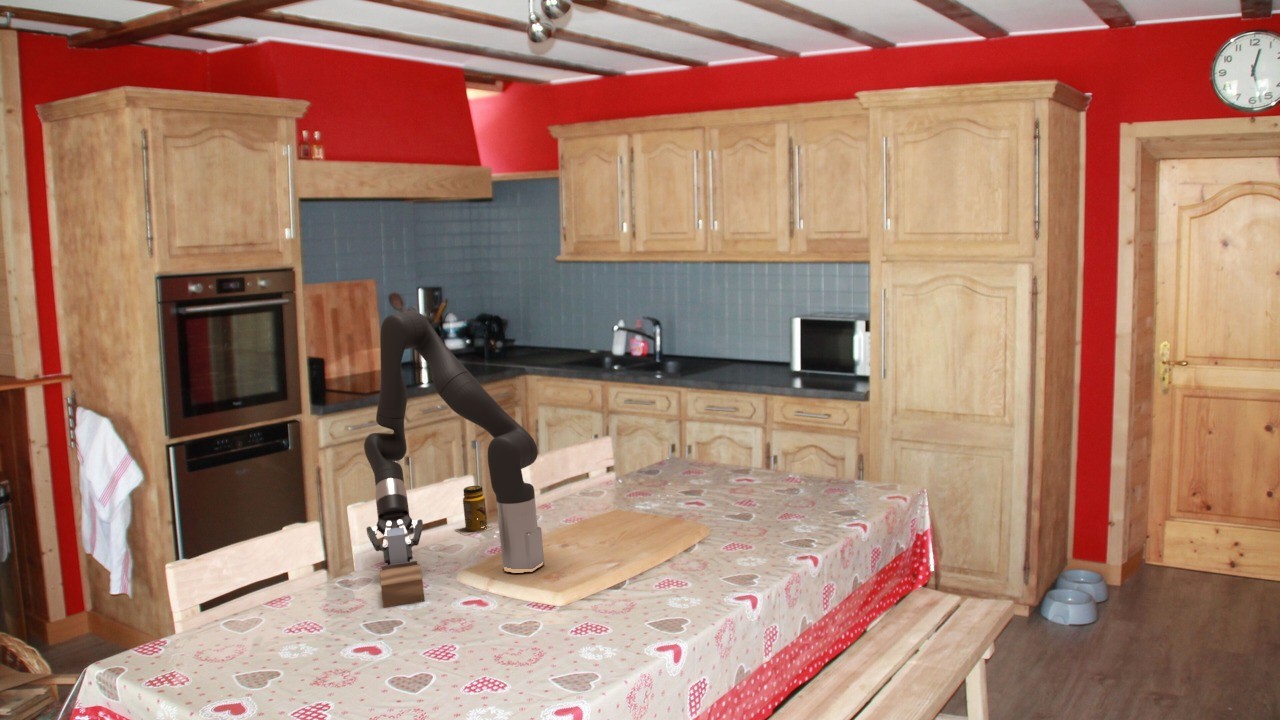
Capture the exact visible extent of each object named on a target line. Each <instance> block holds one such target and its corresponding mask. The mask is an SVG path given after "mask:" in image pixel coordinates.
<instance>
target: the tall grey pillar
mask: <svg viewBox="0 0 1280 720" xmlns="http://www.w3.org/2000/svg"><path fill="white" fill-rule="evenodd" d="M387 538H388V547H389V556H390V565H391V564H398V563H405V562H408V560H407V551H406V542H405V533H404V528H392V529H391V530H387Z"/></svg>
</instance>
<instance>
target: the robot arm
mask: <svg viewBox="0 0 1280 720" xmlns="http://www.w3.org/2000/svg"><path fill="white" fill-rule="evenodd" d="M379 335H380V339H379V340H380V341H379V342H380V343H379V344H380V348H379V349H380V350H379V351H380V385H379V386H380V388H379V396H378V401H377V402H378V403H377V409H376V410H377V411H376V415H375V416H376V417H375V422H376V423H377V424H378V425H379V426H380V427H383V428H385V429H390V430H392V431H393V433H385V432H384V433H383V432H382V433H381V432H372V433H370V434H368V435H367V437H366V438H365V439H364V442H363V443H364V444H363V449H364V454H365V457H366V458H367V461H368V464H369V465H370V467H371V470H372V473H373V475H374V482H375V485H374V486H375V503H376V512H377V522H376V525H374V526H372V527H371V526H367V527H366V535H367V537H368V539H369V540H370V543H371V544H372V546H373V548H374V550H375V551H376V552H379V551H380V552H382V553H383V554H382V555H383V561H384V563H385V564H387V565H390V556H389V547H388V538H387V530H391V529H392V528H404V533H405V542H406V551H407V560H408V562H411V560H413V558H414V557H413V549H412V548H413V547H417V546H418V545H419V543H420V539H421V536H422V532H423V526H424V524H423V520H422V519H420V518H419V519H418V520H413V519H412V518H411V515H410V510H409V503H408V494H407V489H406V485H405V479H404V471H403V467H402V465H401V464H399V463H398V461H401V460H403V459H404V457H405V456H406V454H407V439H406V433H405V415H406V411H407V403H408V391H407V390H408V389H407V386H406V382H405V380H404V377H403V373H402V363H403V362H402V361H403V358H404V357H403V356H404V353H405V350H410V349H413V350H415V351H416V352H417V353H418V354H419V355H420V356H421V357H422V358H423V360H424V361H425V362H426V363H427V365H428V367H429V370H430V373H431V377H432V381H433V382H432V383H433V386H434V388H435V390H436V392H437V394H438V395H439V397H440V398H441V399H442V400H443V401H444V402H445V403H446V404H447V406H448V407H449V408H450V409H451V410H452V411H453V412H454V413H456V414H457V415H459V416H460V417H462V418H463V419H465V420H467V421H469V422H471V423H473V424H475V425H476V426H478V427H480V428H482V429H484V430H485V431H486V432H487V433H489V435H491V437H492V438H493V439H492V440H491V441H490V443H489V444H488V447H487V465H488V471H489V478H490V483H491V488H492V491H493V493H494V494H495V499H496V509H497V519H498V520H497V521H498V531H499V540H500V541H499V542H500V552H501V561H502V567H503V566H504V567H507V568H511V569H533V568H535V567H536V566H538V565H539V564H541V563H542V562H544V563H545V554H544V553H545V552H544V545H543V533H542V527H541V526H538V518H537V516H538V515H537V507H536V497H535V496H536V495H535V487H534V486H533V484H531V483H528V482H525V481H524V477H523V472H522V470H523V469H525V468H527V467H529V466H530V465H532V464H534V463H535V461H536V460H537V459H538V453H539V451H538V446H537V443H536V441H535V440H534V438H533V436H532V435H531V434H530V433H529V432H528V431H527V430H526V429H525V428H523V427H522V426H521V425H520V424H519V423H518V422H517V420H515V419H514V418H512V417H511V416H510V415H509V414H508V413H507V412H506V411H505V410H504V409H503V408H502V406H500V404H498V403H497V401H495V399H494V398H493V397H492V396H491V394H489V393H488V392H487V391H486V389H485V388H484V387H483V386H482V384H480V382H479V381H478V380H477V379H476V378H475V377H474V376H473V374H472V373H471V372H470V371H469V370H468V369H467V368H466V367H465V366H464V365H463V364H462V363H461V361H460V360H459V359H458V358H457V357H456V356H455V355H454V353H453V352H452V351H451V350H450V349H449V348H448V346H447V345H446V344H445V343H444V341H443V339H441V337H440V336H439V335H438V333H437V331H436V330H435V328H434V327H433V326H432V324H431V323H430V322H429V321H428V319H427V318H426V317H425V316H424V315H422V314H421V313H419V312H417V311H413V310H412V311H403V312H397V313H396V312H395V313H392V314H389V315H387V316H386V317H385V318H384V319H383V321H382V323H381V326H380V334H379ZM412 526H413V530H414V533H413V538H410V536H409V533H408V532H409V530H410V529H411V527H412ZM378 532H379V533H380V534H382V535H383V542H382V543H381V542H380V541H379V538H378V537H377V534H378Z"/></svg>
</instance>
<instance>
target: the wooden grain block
mask: <svg viewBox="0 0 1280 720" xmlns="http://www.w3.org/2000/svg"><path fill="white" fill-rule="evenodd" d="M380 567H381V569H380V570H379V574H380V575H379V576H380V588H381V596H382V604H383V605H382V606H383V608H390V607H395V606H401V605H407V604H412V603H419V602H425V592H424V583H423V576H422V571H421V568H420V564H419V563H418V560H413V561H411V560H410V562H405V563H398V564H391V565H388V564H386V565H381V566H380Z"/></svg>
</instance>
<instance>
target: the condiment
mask: <svg viewBox="0 0 1280 720" xmlns="http://www.w3.org/2000/svg"><path fill="white" fill-rule="evenodd" d="M462 491H463V498H462V504H463V513H464V524H465V527H461V528H456V529H454V531H456V532H458V533H459V534H462V535H464V536H468V535H472V534H475V533H481V532H485V531H490V530H493V529H494V528H492V527H491V528H487V527H489V526H488V518H487V509H486V497H485V495H484V491H483V486H481V485H471V486H470V485H469V486H466V487H464V488H463V490H462ZM477 518H478V520H477ZM486 525H487V526H486ZM483 526H485V527H484V528H481V527H483ZM485 528H486V529H485Z"/></svg>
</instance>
